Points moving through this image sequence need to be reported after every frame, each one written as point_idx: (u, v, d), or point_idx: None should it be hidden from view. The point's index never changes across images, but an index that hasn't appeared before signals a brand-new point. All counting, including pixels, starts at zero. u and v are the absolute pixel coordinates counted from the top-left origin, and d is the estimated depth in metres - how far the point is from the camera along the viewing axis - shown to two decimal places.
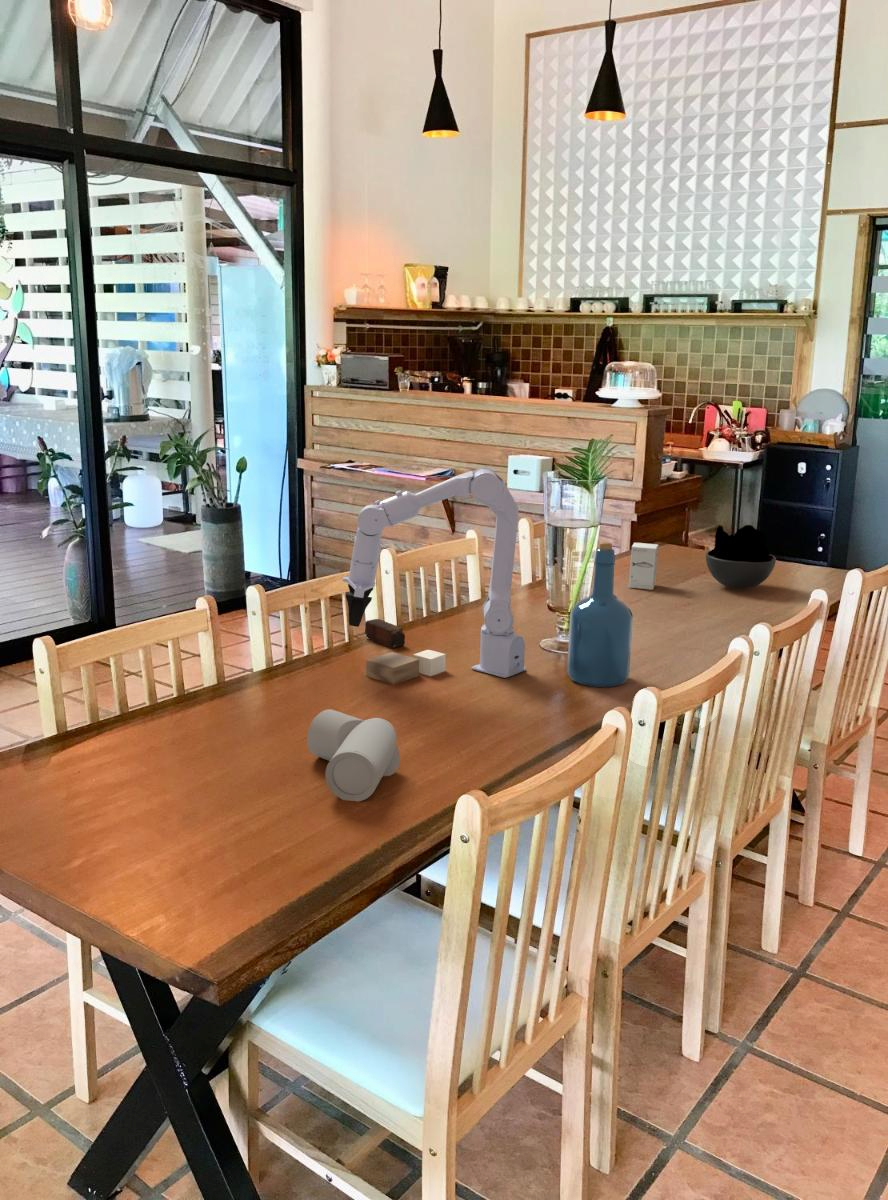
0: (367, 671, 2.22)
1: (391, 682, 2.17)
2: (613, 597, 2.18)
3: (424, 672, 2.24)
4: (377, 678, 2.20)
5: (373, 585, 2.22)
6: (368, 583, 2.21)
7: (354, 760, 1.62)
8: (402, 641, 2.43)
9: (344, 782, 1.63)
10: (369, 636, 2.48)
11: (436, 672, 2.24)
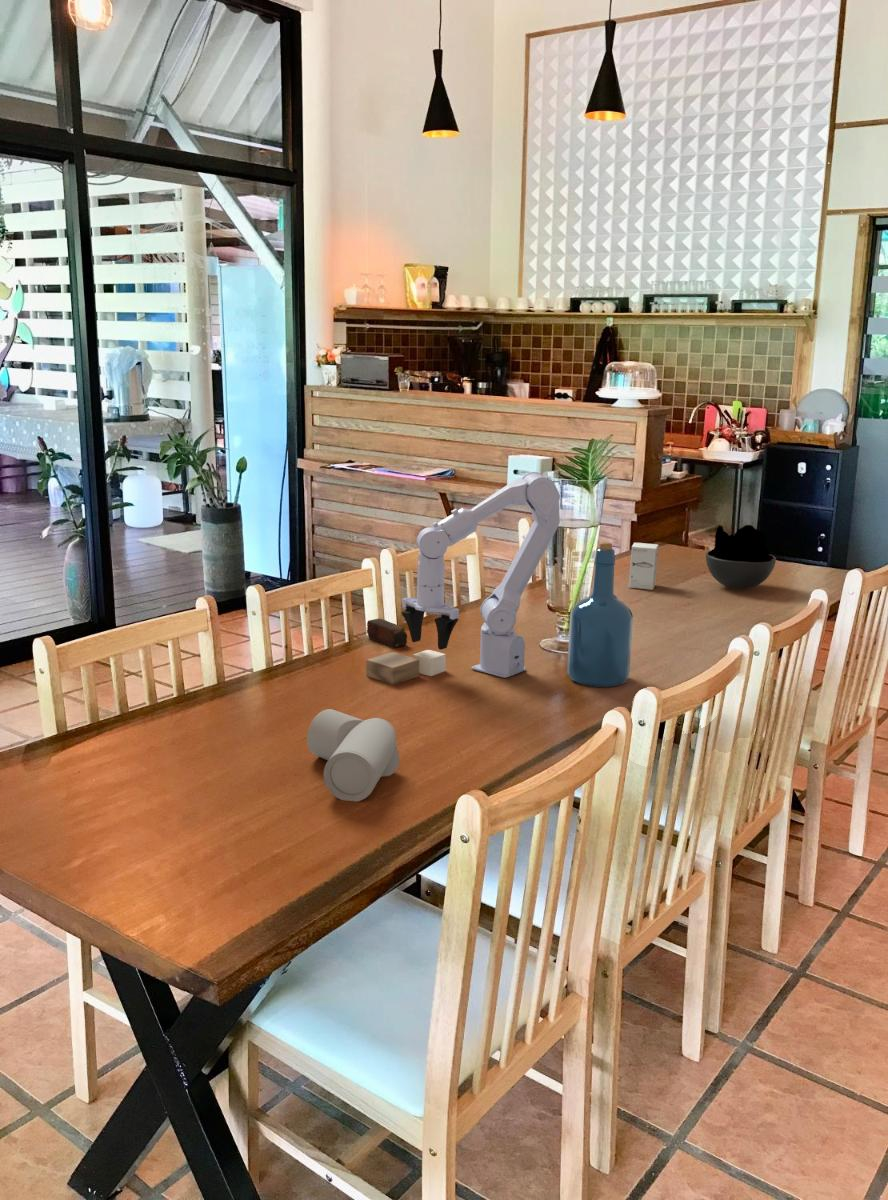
0: (367, 671, 2.22)
1: (390, 682, 2.17)
2: (613, 597, 2.18)
3: (424, 672, 2.24)
4: (377, 678, 2.20)
5: None
6: (443, 603, 2.22)
7: (352, 760, 1.62)
8: (404, 640, 2.44)
9: (342, 782, 1.63)
10: (371, 636, 2.48)
11: (436, 672, 2.24)
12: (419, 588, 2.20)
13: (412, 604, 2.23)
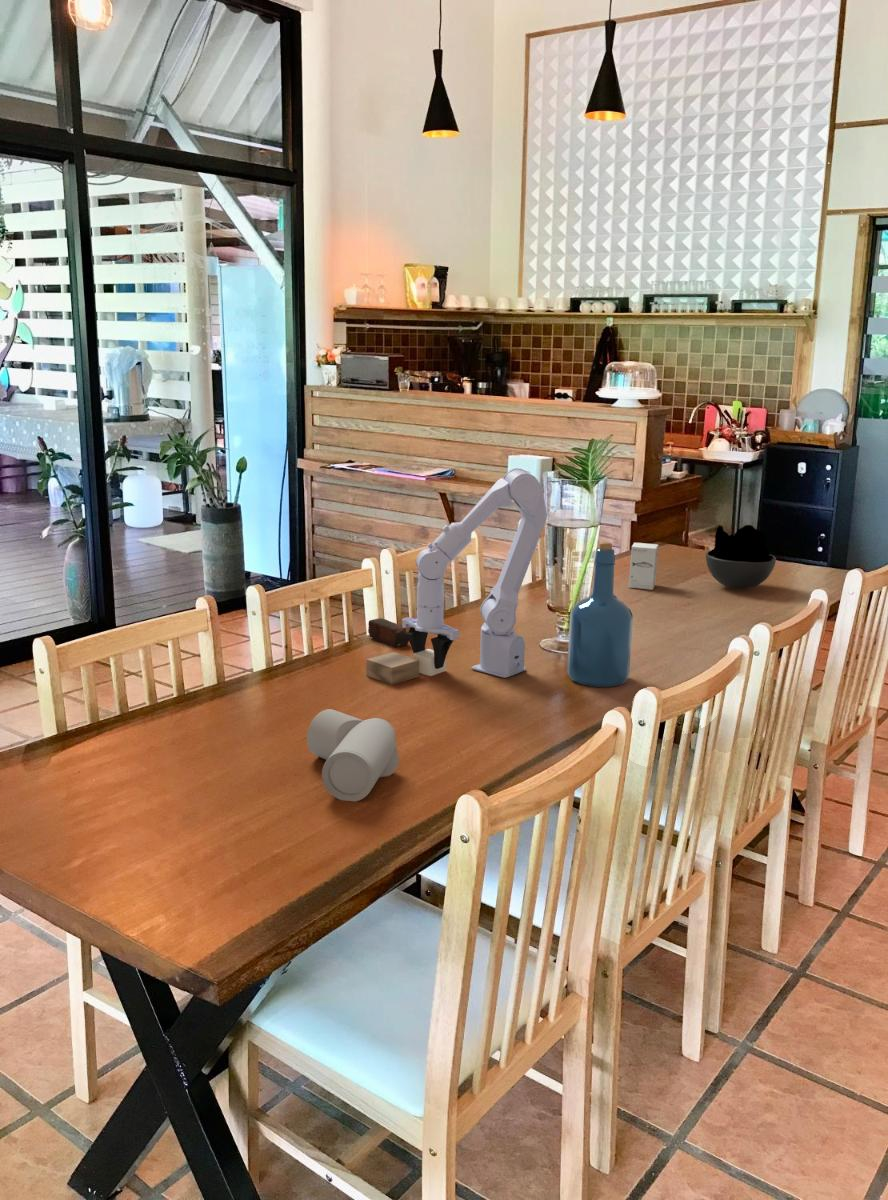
0: (367, 670, 2.22)
1: (389, 682, 2.17)
2: (613, 597, 2.18)
3: (424, 671, 2.24)
4: (376, 678, 2.20)
5: None
6: (443, 624, 2.23)
7: (350, 760, 1.62)
8: (405, 640, 2.44)
9: (340, 782, 1.63)
10: (372, 635, 2.48)
11: (436, 671, 2.24)
12: (419, 609, 2.21)
13: (412, 624, 2.24)
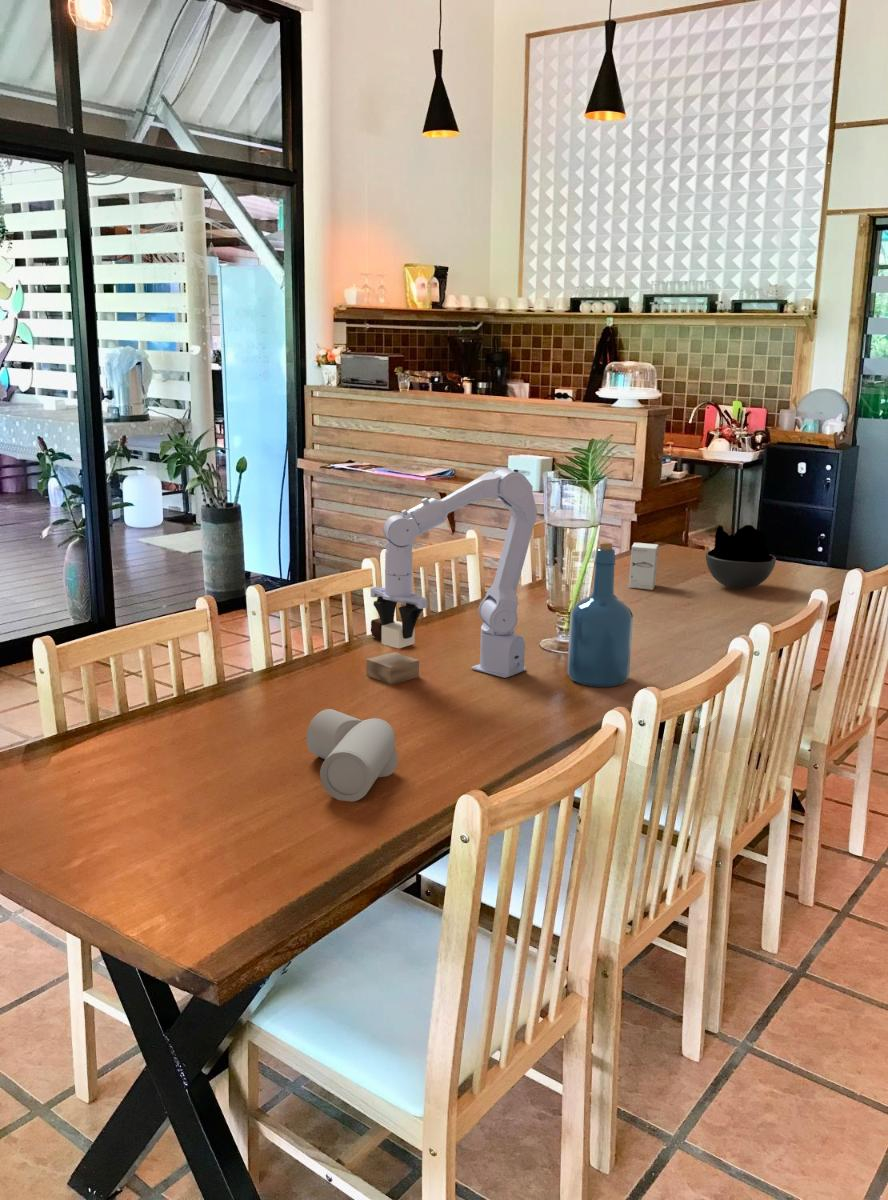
0: (367, 670, 2.22)
1: (388, 682, 2.17)
2: (613, 597, 2.18)
3: (392, 644, 2.19)
4: (376, 677, 2.20)
5: None
6: (411, 593, 2.18)
7: (348, 760, 1.62)
8: None
9: (338, 782, 1.63)
10: (375, 635, 2.49)
11: (405, 644, 2.19)
12: (387, 577, 2.16)
13: (380, 593, 2.19)
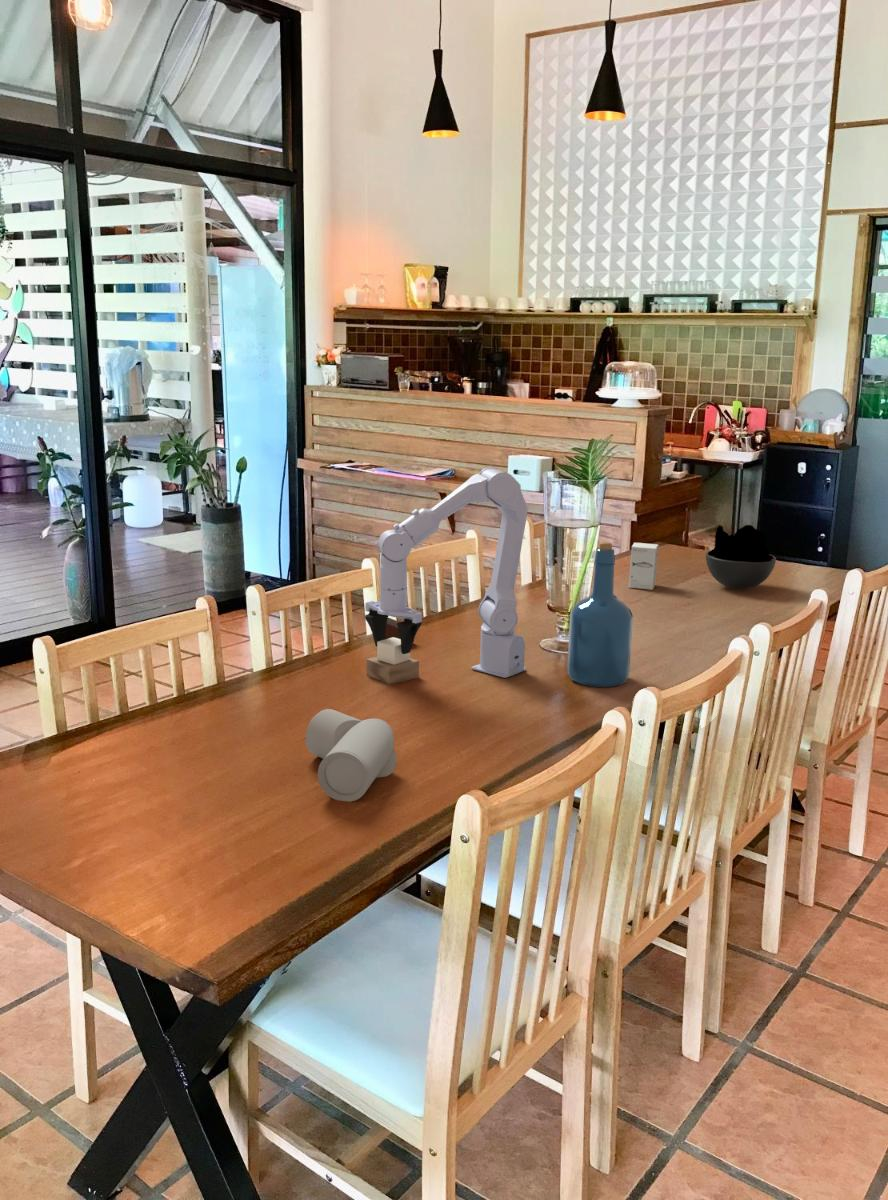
0: (367, 670, 2.22)
1: (387, 682, 2.18)
2: (613, 597, 2.18)
3: (388, 660, 2.19)
4: (375, 678, 2.21)
5: None
6: (406, 607, 2.18)
7: (346, 760, 1.62)
8: None
9: (336, 782, 1.63)
10: None
11: (400, 660, 2.20)
12: (381, 592, 2.16)
13: (375, 608, 2.19)
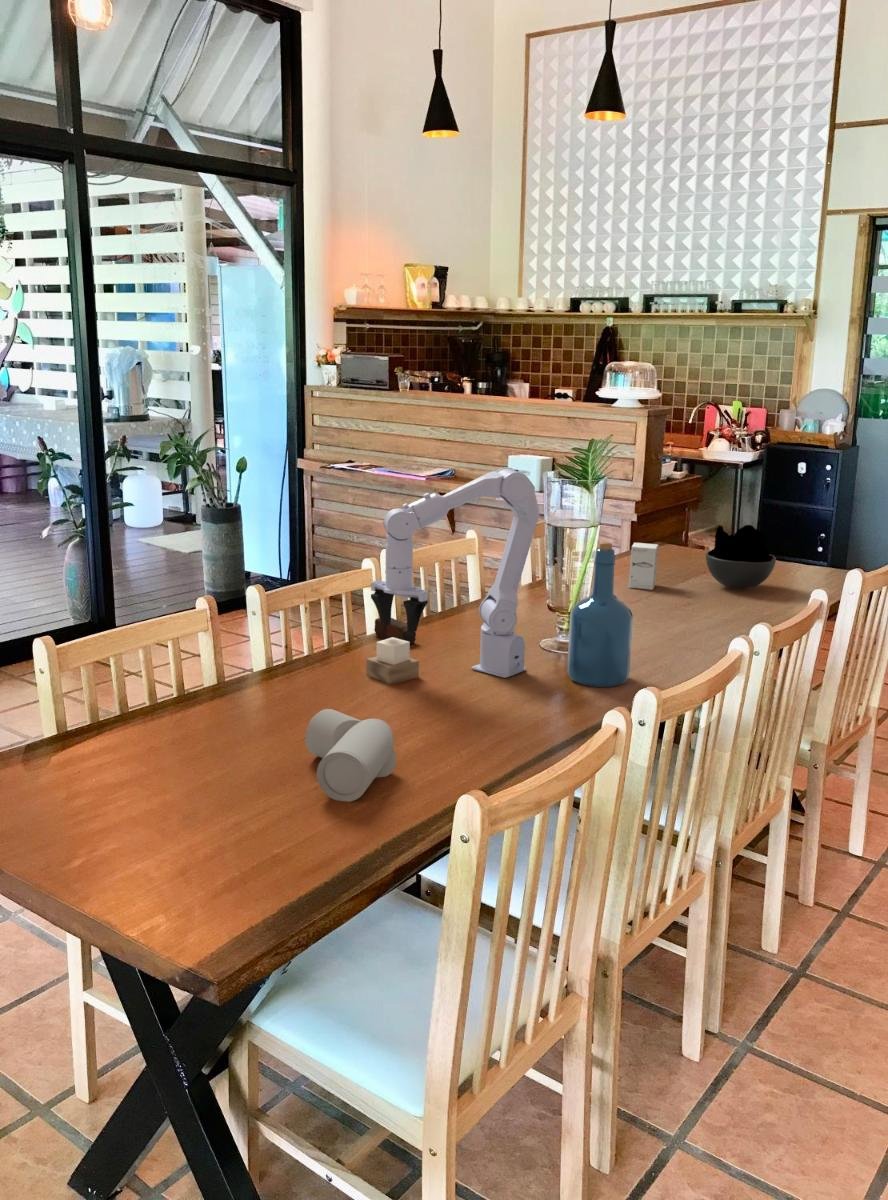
0: (367, 670, 2.22)
1: (387, 682, 2.18)
2: (613, 597, 2.18)
3: (387, 660, 2.19)
4: (375, 677, 2.21)
5: None
6: (412, 586, 2.19)
7: (345, 760, 1.62)
8: (413, 638, 2.46)
9: (335, 782, 1.63)
10: (379, 634, 2.50)
11: (400, 660, 2.20)
12: (387, 570, 2.17)
13: (381, 587, 2.20)
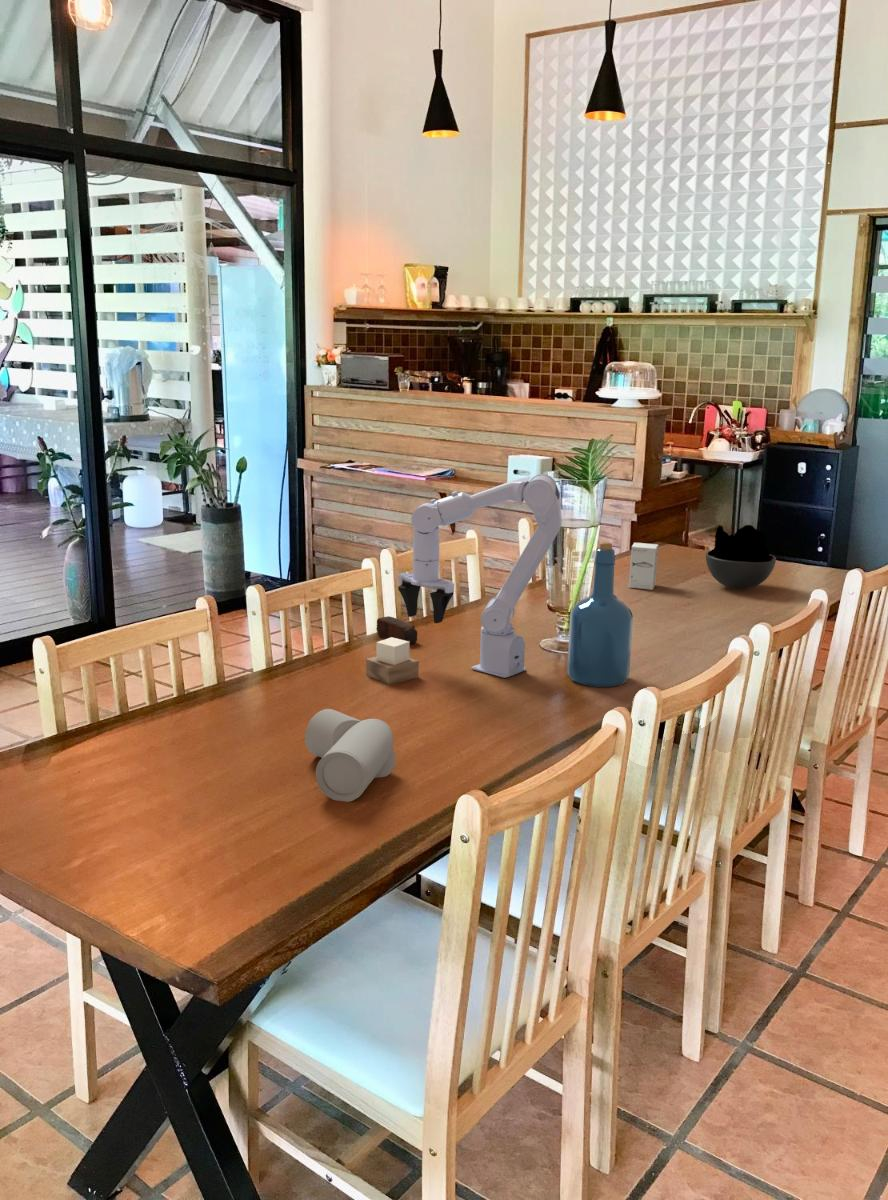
0: (367, 670, 2.22)
1: (387, 682, 2.18)
2: (613, 597, 2.18)
3: (388, 660, 2.19)
4: (375, 677, 2.21)
5: None
6: (438, 578, 2.26)
7: (344, 760, 1.62)
8: (414, 637, 2.46)
9: (334, 782, 1.63)
10: (381, 633, 2.50)
11: (400, 660, 2.20)
12: (415, 563, 2.24)
13: (408, 579, 2.27)
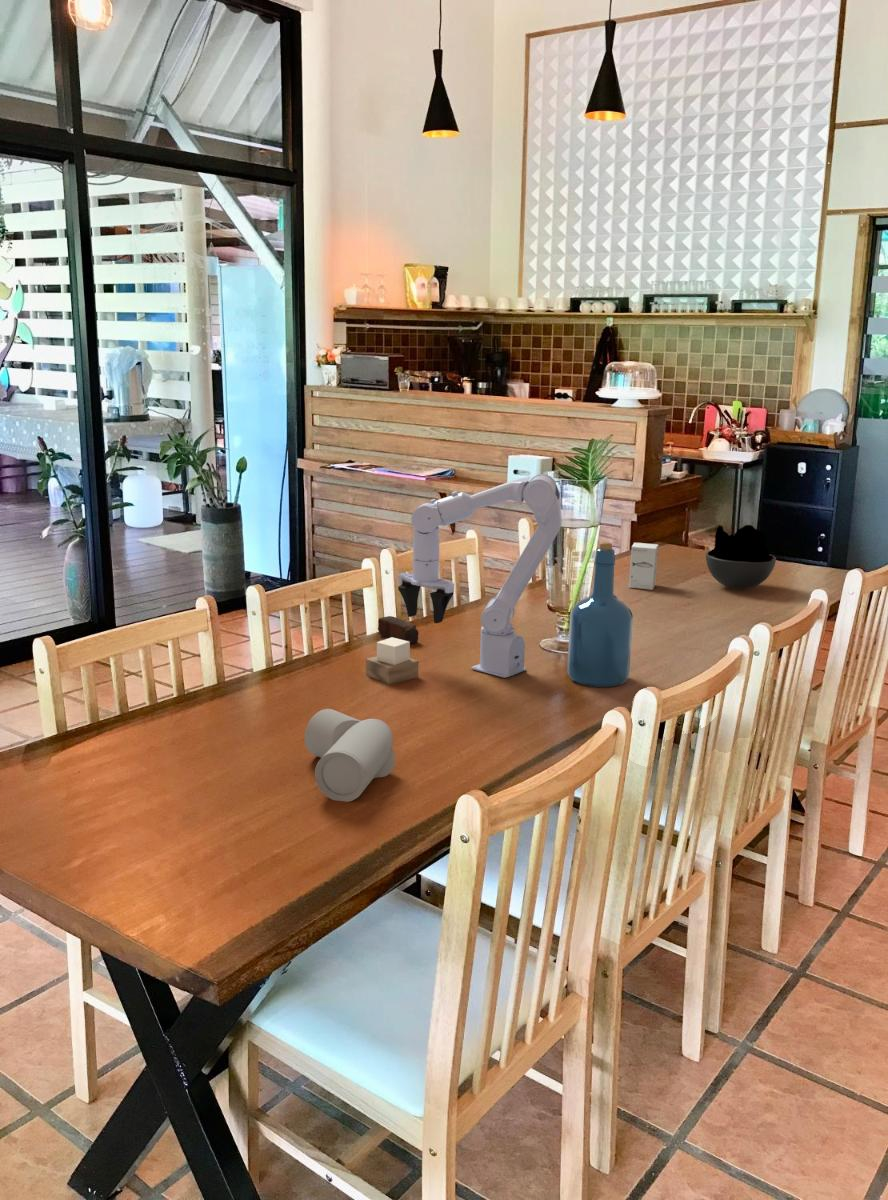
0: (367, 670, 2.22)
1: (386, 682, 2.18)
2: (613, 597, 2.18)
3: (388, 660, 2.19)
4: (375, 677, 2.21)
5: None
6: (438, 578, 2.26)
7: (343, 760, 1.62)
8: (415, 637, 2.46)
9: (333, 782, 1.63)
10: (382, 633, 2.51)
11: (400, 660, 2.20)
12: (415, 563, 2.24)
13: (408, 579, 2.27)
